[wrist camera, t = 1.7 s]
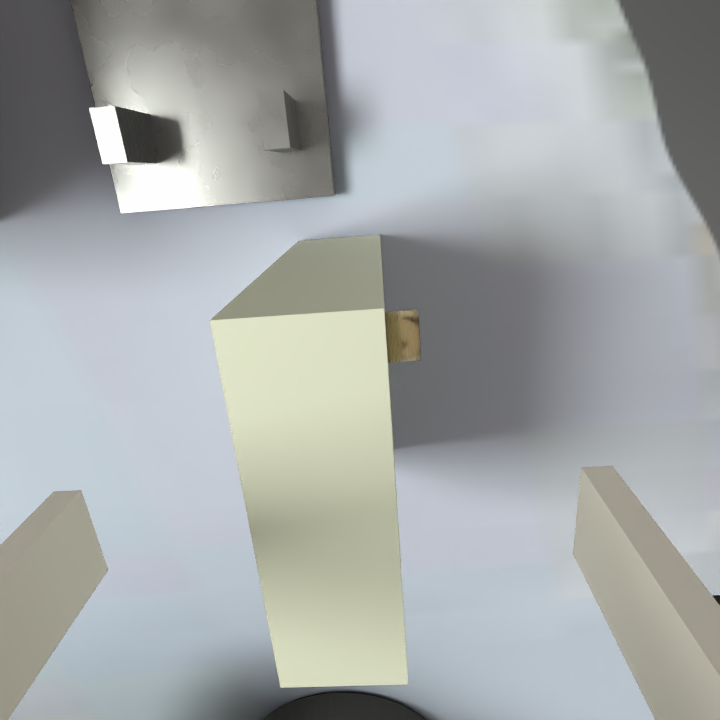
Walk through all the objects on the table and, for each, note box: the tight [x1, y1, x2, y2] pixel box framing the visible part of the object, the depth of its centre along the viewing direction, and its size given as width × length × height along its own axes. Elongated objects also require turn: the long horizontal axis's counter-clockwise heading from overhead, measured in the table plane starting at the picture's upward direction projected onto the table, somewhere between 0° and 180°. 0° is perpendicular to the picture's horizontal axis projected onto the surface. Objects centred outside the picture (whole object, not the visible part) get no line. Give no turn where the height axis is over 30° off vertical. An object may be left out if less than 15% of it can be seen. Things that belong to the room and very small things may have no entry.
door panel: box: [210, 234, 421, 688], centre depth 20 cm, size 12×5×14 cm, turn 5°
